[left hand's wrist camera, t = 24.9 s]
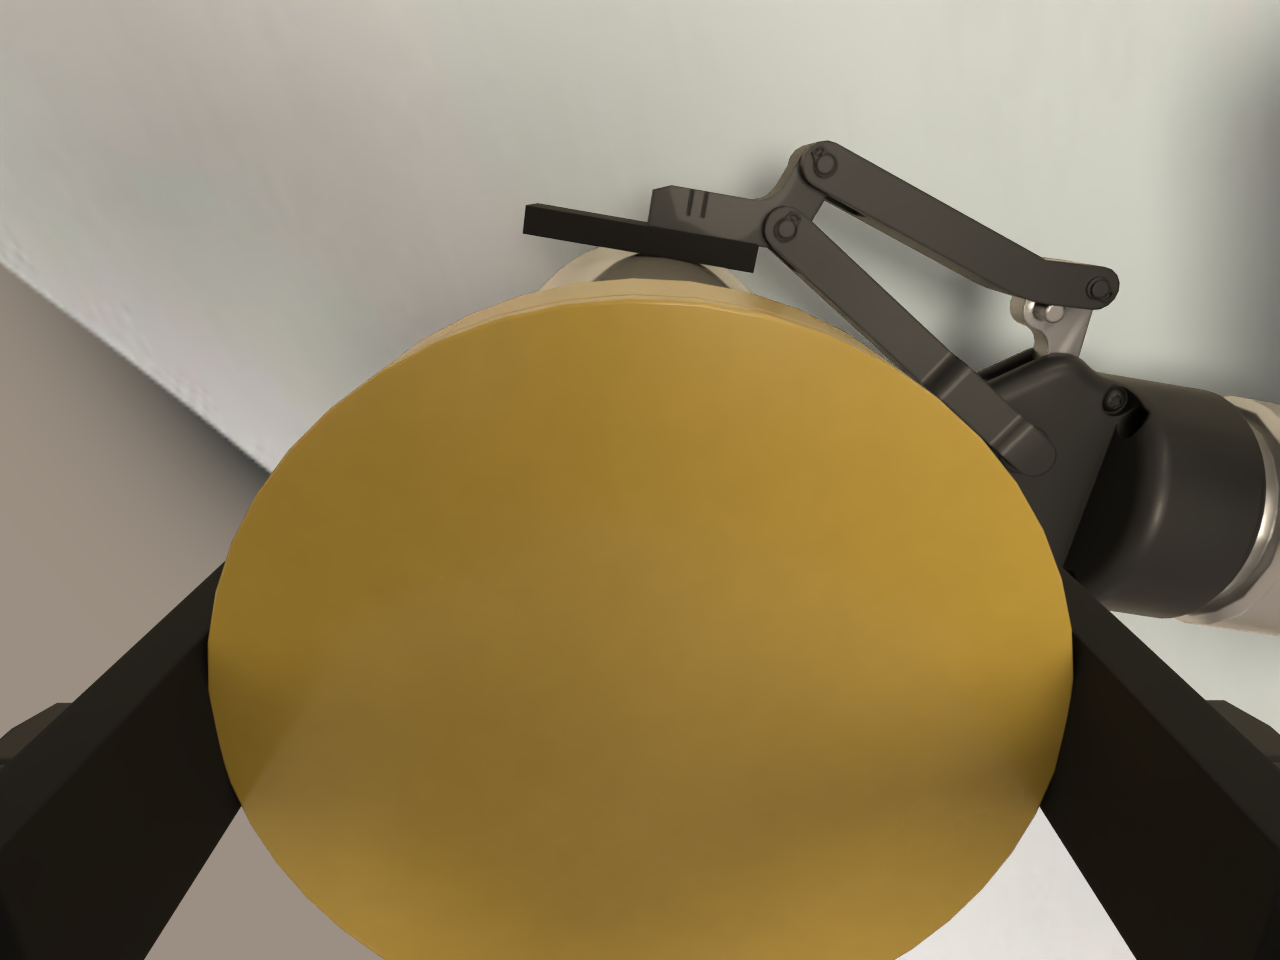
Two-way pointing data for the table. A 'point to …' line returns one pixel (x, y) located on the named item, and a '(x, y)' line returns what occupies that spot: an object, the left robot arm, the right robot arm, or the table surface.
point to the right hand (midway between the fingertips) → (509, 398)
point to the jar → (638, 270)
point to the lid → (640, 642)
